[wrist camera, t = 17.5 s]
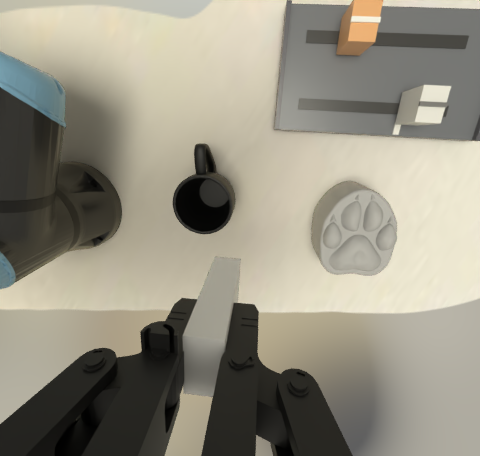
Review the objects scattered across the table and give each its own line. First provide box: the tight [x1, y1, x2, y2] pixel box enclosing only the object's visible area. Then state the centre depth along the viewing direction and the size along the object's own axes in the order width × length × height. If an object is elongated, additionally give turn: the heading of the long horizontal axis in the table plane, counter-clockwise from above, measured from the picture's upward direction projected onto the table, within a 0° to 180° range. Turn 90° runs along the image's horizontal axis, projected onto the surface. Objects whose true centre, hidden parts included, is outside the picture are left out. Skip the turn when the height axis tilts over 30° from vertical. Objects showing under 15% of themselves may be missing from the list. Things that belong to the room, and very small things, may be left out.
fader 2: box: [395, 85, 451, 126], centre depth 33 cm, size 3×4×5 cm
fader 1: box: [336, 0, 383, 56], centre depth 31 cm, size 3×4×5 cm
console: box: [274, 0, 480, 141], centre depth 35 cm, size 28×15×3 cm, turn 87°
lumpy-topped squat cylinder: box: [312, 181, 397, 276], centre depth 40 cm, size 10×13×9 cm
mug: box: [173, 144, 235, 234], centre depth 39 cm, size 8×12×10 cm
